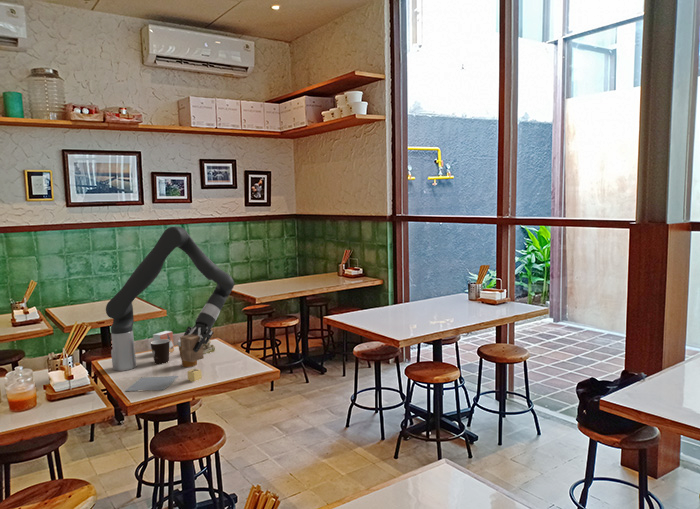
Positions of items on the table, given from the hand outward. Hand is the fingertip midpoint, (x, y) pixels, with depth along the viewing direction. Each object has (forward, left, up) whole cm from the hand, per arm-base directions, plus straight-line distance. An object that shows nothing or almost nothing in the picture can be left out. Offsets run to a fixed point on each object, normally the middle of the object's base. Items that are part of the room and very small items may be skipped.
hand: (189, 350), depth 219 cm
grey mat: (-16, -2, -13) cm, 21 cm away
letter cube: (+1, +1, -13) cm, 13 cm away
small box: (-28, +44, -13) cm, 54 cm away
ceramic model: (-9, +43, -14) cm, 46 cm away
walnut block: (+1, +1, -4) cm, 5 cm away
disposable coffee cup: (-8, +22, -13) cm, 27 cm away
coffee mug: (-24, +30, -13) cm, 41 cm away
